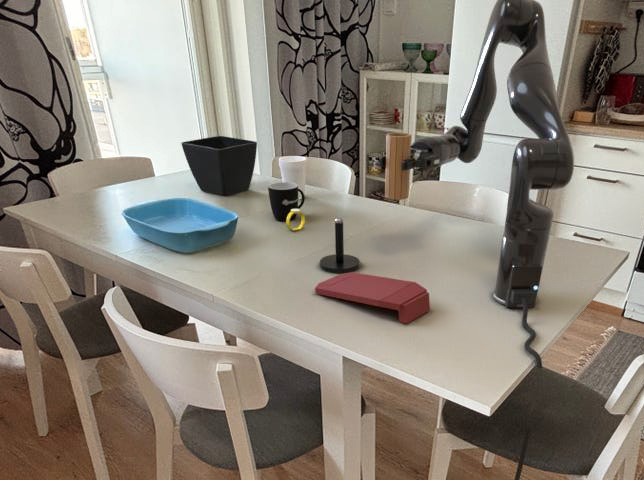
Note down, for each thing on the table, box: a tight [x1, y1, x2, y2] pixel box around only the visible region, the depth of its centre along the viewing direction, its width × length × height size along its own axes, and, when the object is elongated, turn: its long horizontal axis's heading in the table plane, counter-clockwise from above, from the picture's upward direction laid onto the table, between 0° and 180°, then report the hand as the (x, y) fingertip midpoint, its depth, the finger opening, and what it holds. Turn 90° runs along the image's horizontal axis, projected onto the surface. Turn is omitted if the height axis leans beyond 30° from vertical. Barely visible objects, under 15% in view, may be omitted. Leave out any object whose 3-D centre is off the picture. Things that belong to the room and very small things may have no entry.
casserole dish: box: [121, 197, 239, 254], centre depth 145 cm, size 37×22×7 cm, turn 49°
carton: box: [314, 271, 431, 324], centre depth 114 cm, size 12×5×25 cm
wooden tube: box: [384, 132, 412, 201], centre depth 122 cm, size 6×6×14 cm
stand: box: [319, 217, 361, 274], centre depth 127 cm, size 10×10×12 cm
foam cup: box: [278, 155, 308, 200], centre depth 180 cm, size 10×9×13 cm
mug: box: [267, 181, 305, 223], centre depth 161 cm, size 12×9×10 cm
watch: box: [285, 208, 306, 232], centre depth 152 cm, size 6×3×6 cm, turn 134°
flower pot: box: [180, 135, 258, 197], centre depth 186 cm, size 19×19×17 cm
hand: (391, 163), depth 120 cm, fingers closed on wooden tube, 5 cm apart
